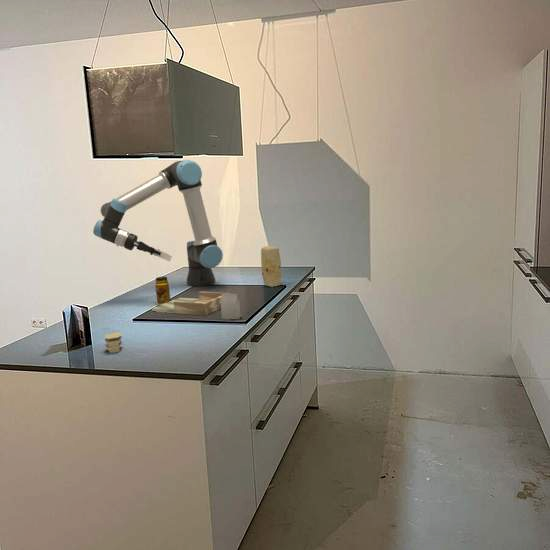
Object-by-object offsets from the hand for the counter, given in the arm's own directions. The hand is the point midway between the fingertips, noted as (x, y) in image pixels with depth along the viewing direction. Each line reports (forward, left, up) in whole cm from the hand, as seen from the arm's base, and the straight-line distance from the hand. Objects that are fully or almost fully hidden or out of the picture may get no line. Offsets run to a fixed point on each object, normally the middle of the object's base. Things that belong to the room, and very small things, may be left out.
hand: (169, 258), depth 277 cm
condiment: (+6, -1, -20) cm, 21 cm away
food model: (-36, +34, -20) cm, 53 cm away
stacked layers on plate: (+70, +27, -20) cm, 78 cm away
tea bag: (+23, +46, -20) cm, 55 cm away
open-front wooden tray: (+12, +19, -20) cm, 30 cm away
